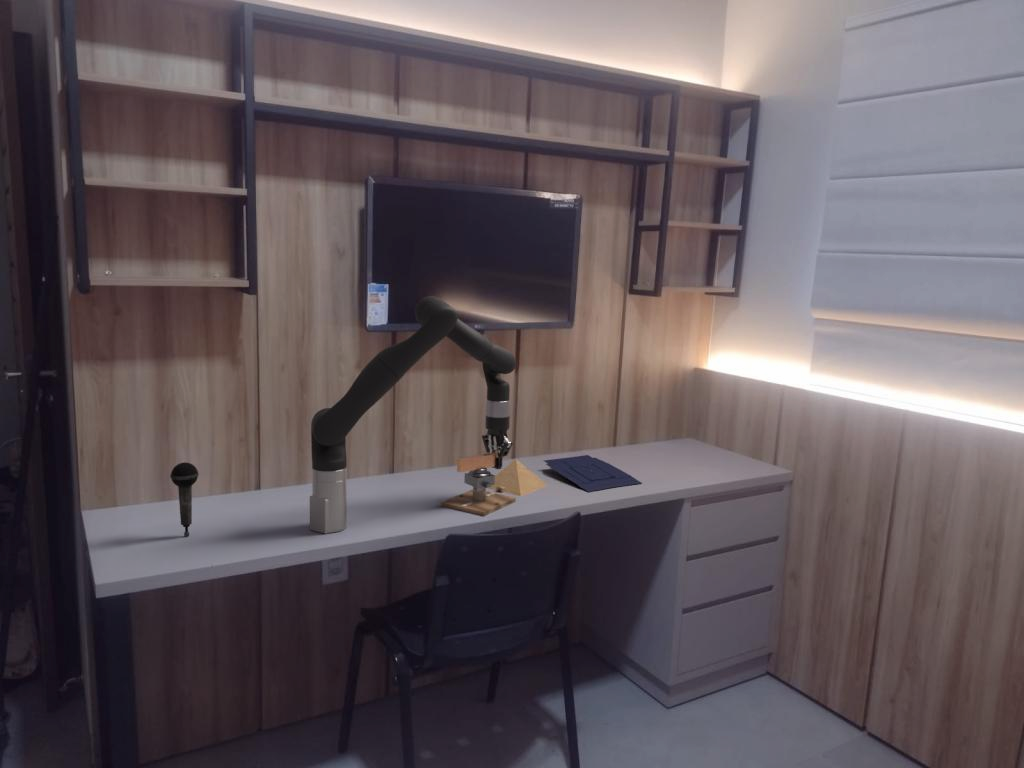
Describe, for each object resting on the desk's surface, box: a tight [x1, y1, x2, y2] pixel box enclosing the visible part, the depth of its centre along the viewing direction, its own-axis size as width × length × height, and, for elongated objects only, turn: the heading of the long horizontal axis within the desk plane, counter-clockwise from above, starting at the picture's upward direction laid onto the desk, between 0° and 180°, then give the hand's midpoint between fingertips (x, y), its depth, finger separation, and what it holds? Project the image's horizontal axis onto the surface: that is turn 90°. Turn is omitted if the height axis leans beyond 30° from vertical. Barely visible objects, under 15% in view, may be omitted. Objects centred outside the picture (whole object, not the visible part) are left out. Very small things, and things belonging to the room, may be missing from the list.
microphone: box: [169, 462, 200, 537], centre depth 195 cm, size 7×7×20 cm
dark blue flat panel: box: [543, 454, 642, 493], centre depth 267 cm, size 24×30×4 cm
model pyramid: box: [487, 458, 548, 497], centre depth 252 cm, size 17×17×10 cm
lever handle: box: [456, 451, 500, 489], centre depth 231 cm, size 10×16×9 cm, turn 129°
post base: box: [440, 486, 517, 517], centre depth 232 cm, size 18×16×9 cm
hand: (496, 467), depth 235 cm, fingers closed
